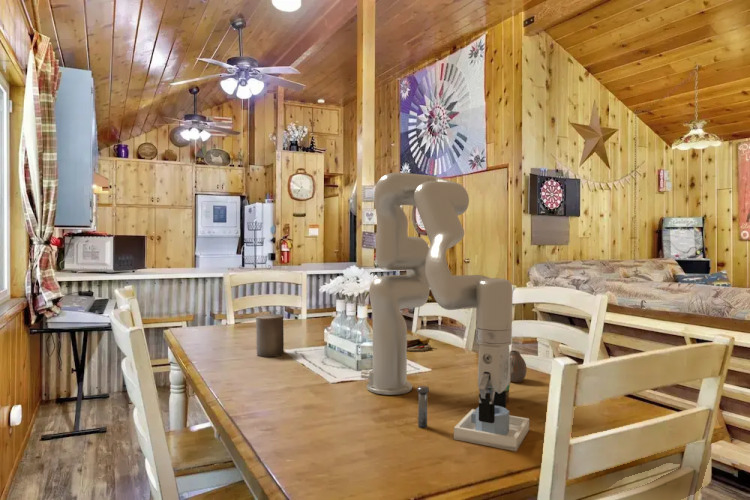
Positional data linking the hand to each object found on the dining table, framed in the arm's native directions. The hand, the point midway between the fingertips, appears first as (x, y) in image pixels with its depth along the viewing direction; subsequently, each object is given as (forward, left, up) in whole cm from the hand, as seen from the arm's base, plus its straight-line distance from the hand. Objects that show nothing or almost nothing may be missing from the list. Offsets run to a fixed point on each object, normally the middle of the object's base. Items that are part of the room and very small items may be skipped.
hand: (492, 414), depth 111 cm
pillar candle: (-90, +36, -4) cm, 97 cm away
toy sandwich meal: (-49, +69, -5) cm, 85 cm away
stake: (-15, -3, -4) cm, 16 cm away
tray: (0, 0, -4) cm, 4 cm away
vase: (-5, +44, -5) cm, 45 cm away
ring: (0, 0, -4) cm, 4 cm away
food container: (-4, +23, -4) cm, 24 cm away
